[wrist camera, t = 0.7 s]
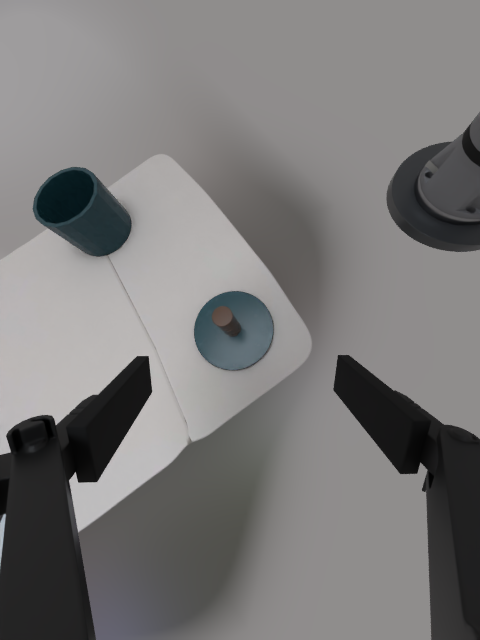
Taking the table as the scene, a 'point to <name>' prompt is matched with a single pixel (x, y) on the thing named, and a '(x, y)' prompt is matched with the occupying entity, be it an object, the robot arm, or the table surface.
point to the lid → (233, 330)
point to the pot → (82, 211)
